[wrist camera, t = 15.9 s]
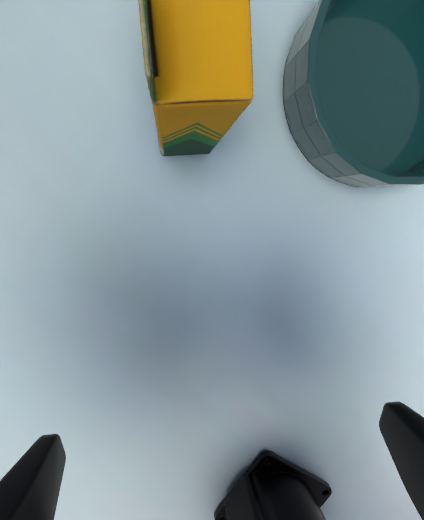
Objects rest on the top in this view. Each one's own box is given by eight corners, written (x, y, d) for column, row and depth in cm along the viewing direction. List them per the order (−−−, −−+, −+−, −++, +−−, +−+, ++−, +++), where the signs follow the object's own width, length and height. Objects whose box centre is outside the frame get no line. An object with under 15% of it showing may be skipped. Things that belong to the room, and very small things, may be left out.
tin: (495, 71, 19) (565, 43, 16) (381, 222, 20) (424, 227, 17) (365, -69, 17) (414, -137, 14) (244, 109, 18) (260, 88, 15)
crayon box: (213, 153, 18) (278, 80, 7) (160, 156, 18) (139, 85, 7) (203, 10, 17) (267, -382, 5) (146, 11, 16) (87, -404, 5)
